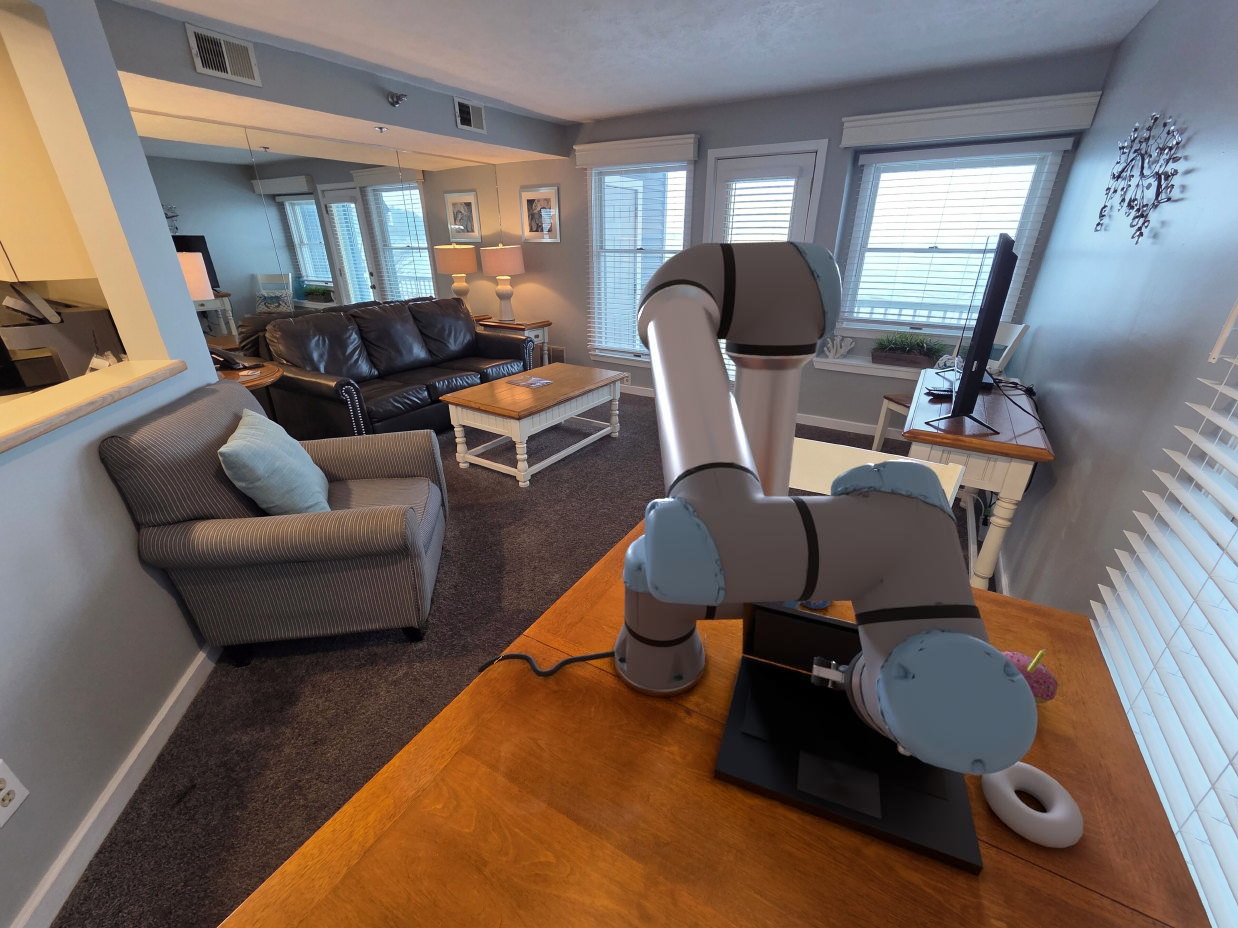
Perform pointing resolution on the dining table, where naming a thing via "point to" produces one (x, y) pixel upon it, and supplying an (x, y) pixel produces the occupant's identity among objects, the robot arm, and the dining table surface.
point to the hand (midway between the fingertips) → (856, 683)
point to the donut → (1041, 828)
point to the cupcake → (1035, 675)
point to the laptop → (840, 766)
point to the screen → (797, 636)
